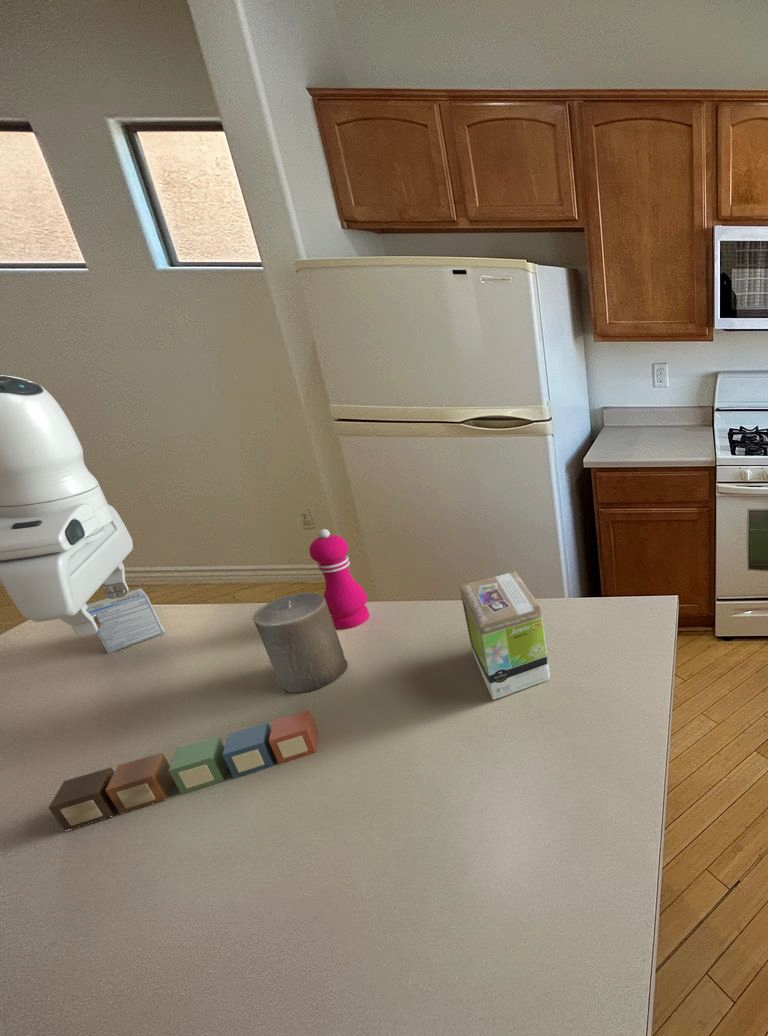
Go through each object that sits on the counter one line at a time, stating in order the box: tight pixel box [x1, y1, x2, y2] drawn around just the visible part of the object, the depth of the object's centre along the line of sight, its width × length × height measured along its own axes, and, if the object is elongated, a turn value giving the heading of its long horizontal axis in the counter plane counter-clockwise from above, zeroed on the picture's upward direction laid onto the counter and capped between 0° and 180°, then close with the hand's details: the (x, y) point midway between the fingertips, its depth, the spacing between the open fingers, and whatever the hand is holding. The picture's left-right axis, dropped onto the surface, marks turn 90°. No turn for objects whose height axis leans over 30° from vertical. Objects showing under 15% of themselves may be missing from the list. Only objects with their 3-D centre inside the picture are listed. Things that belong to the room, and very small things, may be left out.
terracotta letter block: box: [269, 709, 319, 764], centre depth 80 cm, size 4×5×4 cm
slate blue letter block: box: [222, 722, 276, 779], centre depth 77 cm, size 4×5×4 cm
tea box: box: [459, 571, 551, 701], centre depth 95 cm, size 15×10×15 cm, turn 34°
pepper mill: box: [308, 528, 370, 630], centre depth 106 cm, size 7×7×20 cm
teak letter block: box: [105, 752, 174, 815], centre depth 72 cm, size 4×5×4 cm
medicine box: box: [86, 588, 166, 654], centre depth 102 cm, size 8×4×9 cm, turn 144°
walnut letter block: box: [48, 766, 118, 831], centre depth 70 cm, size 4×5×4 cm
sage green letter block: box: [168, 735, 229, 795], centre depth 75 cm, size 4×4×4 cm
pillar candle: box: [252, 591, 348, 694], centre depth 92 cm, size 10×10×15 cm
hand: (105, 613), depth 71 cm, fingers open, 8 cm apart
